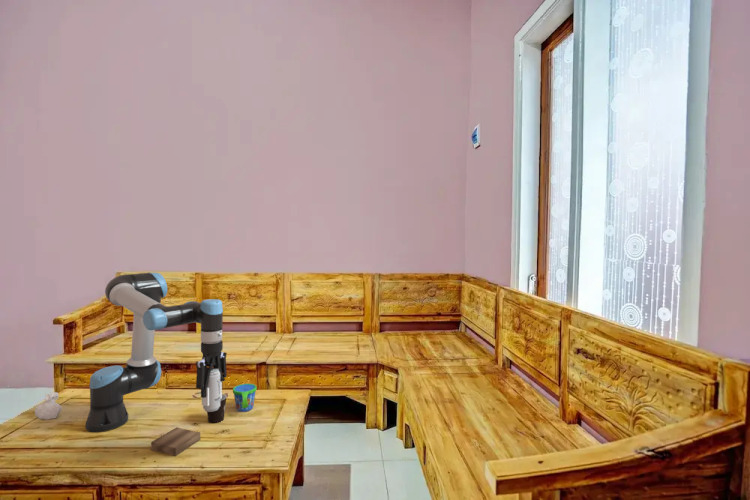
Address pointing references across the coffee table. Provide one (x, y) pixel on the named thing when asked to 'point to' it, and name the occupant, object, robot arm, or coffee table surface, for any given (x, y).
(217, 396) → the energy drink can
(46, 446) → the coffee table surface
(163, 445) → the walnut board
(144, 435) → the coffee table surface
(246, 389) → the snack cup
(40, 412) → the tied plastic bag
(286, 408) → the coffee table surface
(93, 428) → the robot arm
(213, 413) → the coffee mug
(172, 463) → the coffee table surface
